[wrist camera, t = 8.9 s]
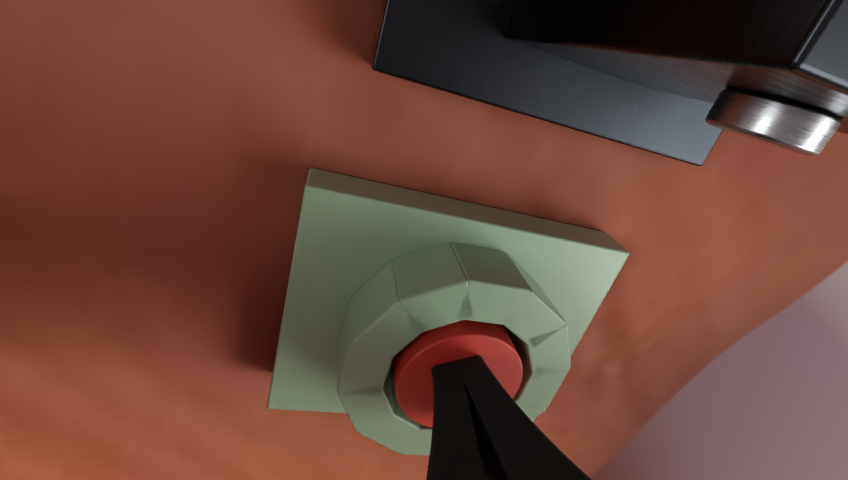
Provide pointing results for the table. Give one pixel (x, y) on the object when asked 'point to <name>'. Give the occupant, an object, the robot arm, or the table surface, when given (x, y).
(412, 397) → the button
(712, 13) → the black lever mount
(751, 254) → the table surface
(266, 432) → the table surface
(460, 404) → the robot arm
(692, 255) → the table surface
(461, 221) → the button box
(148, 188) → the table surface
